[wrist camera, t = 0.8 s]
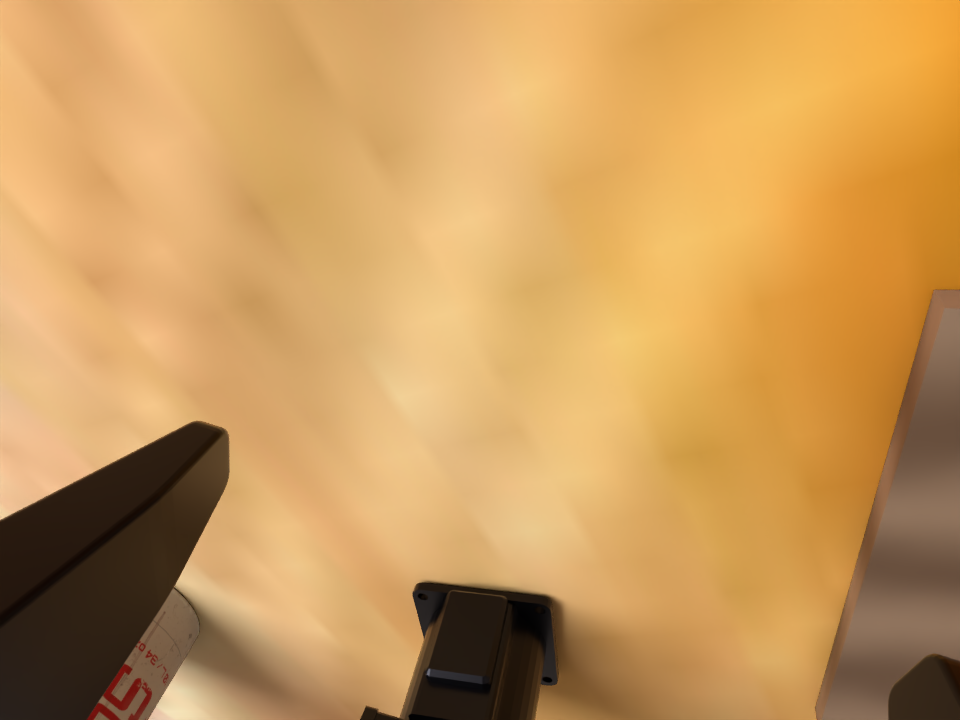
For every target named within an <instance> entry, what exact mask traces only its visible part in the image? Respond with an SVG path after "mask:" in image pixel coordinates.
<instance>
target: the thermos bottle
mask: <svg viewBox="0 0 960 720" xmlns="http://www.w3.org/2000/svg"><path fill="white" fill-rule="evenodd" d="M199 627H200V624H199V621H198V617H197V615H196V613H195V611H194V610H193V608H192V607H191V605H190V604H189V603H188V602H187V600H186V599H185V598H184V597H183V596H182V595H181V594H179V593H178V592H177V591H176V590H175V589H174V588H173V590H172V591H171V593H170V595H169V596H168V598H167V600H166V601H165V603H164V604H163V606H162V608H161V609H160V611H159V612H158V614H157V615H156V617H155V618H154V620H153V621H152V623H151V624H150V626H149V627H148V629H147V630H146V632H145V633H144V635H143V636H142V638H141V639H140V641H139V642H138V644H137V645H136V647H135V648H134V650H133V651H132V653H131V654H130V656H129V657H128V659H127V660H126V662H125V663H124V665H123V666H122V668H121V669H120V671H119V672H118V674H117V675H116V677H115V678H114V680H113V681H112V683H111V684H110V686H109V687H108V689H107V690H106V692H105V693H104V695H103V696H102V698H101V699H100V701H99V702H98V704H97V705H96V707H95V708H94V710H93V711H92V713H91V714H90V716H89V717H88V719H87V720H148V719H149V717H150V715H151V714H152V712H153V710H154V709H155V707H156V705H157V703H158V702H159V700H160V698H161V697H162V695H163V694H164V692H165V690H166V689H167V687H168V686H169V684H170V682H171V681H172V679H173V677H174V676H175V674H176V672H177V671H178V669H179V667H180V666H181V664H182V662H183V660H184V659H185V657H186V655H187V654H188V652H189V650H190V649H191V647H192V645H193V643H194V642H195V640H196V638H197V636H198V634H199Z"/></svg>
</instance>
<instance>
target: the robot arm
mask: <svg viewBox="0 0 960 720" xmlns="http://www.w3.org/2000/svg"><path fill="white" fill-rule="evenodd" d="M228 478H229V434H228V432H227V431H226V429H224V428H222V427H219V426H215V425H212V424H209V423H206V422H202V421H194V422H191V423H189V424H187V425H185V426H183V427H181V428H179V429H177V430H175V431H173V432H171V433H169V434H167V435H165V436H163V437H161V438H159V439H158V440H156V441H154V442H152V443H150V444H148V445H146V446H144V447H142V448H140V449H138V450H136V451H134V452H132V453H130V454H128V455H126V456H124V457H122V458H120V459H119V460H117V461H115V462H113V463H111V464H109V465H107V466H105V467H103V468H101V469H99V470H97V471H95V472H93V473H91V474H89V475H87V476H85V477H83V478H81V479H79V480H78V481H76V482H74V483H72V484H70V485H68V486H66V487H64V488H62V489H60V490H58V491H56V492H54V493H52V494H50V495H48V496H46V497H44V498H42V499H40V500H39V501H37V502H35V503H33V504H31V505H29V506H27V507H25V508H23V509H21V510H19V511H17V512H15V513H13V514H11V515H9V516H7V517H5V518H3V519H1V520H0V720H87V719H88V717H89V716H90V714H91V713H92V711H93V710H94V708H95V707H96V705H97V704H98V702H99V701H100V699H101V698H102V696H103V695H104V693H105V692H106V690H107V689H108V687H109V686H110V684H111V683H112V681H113V680H114V678H115V677H116V675H117V674H118V672H119V671H120V669H121V668H122V666H123V665H124V663H125V662H126V660H127V659H128V657H129V656H130V654H131V653H132V651H133V650H134V648H135V647H136V645H137V644H138V642H139V641H140V639H141V638H142V636H143V635H144V633H145V632H146V630H147V629H148V627H149V626H150V624H151V623H152V621H153V620H154V618H155V617H156V615H157V614H158V612H159V611H160V609H161V608H162V606H163V604H164V603H165V601H166V600H167V598H168V596H169V595H170V593H171V591H172V590H173V588H174V586H175V584H176V582H177V580H178V579H179V577H180V575H181V573H182V571H183V569H184V567H185V565H186V563H187V561H188V559H189V557H190V555H191V554H192V552H193V550H194V548H195V546H196V544H197V542H198V540H199V538H200V536H201V534H202V532H203V530H204V528H205V527H206V525H207V523H208V521H209V519H210V517H211V515H212V513H213V511H214V509H215V507H216V505H217V503H218V501H219V500H220V498H221V496H222V494H223V492H224V490H225V487H226V485H227V482H228ZM413 599H414V602H415V606H416V610H417V614H418V617H419V621H420V625H421V629H422V632H423V636H424V641H423V645H422V648H421V651H420V654H419V657H418V661H417V664H416V667H415V670H414V673H413V677H412V680H411V683H410V686H409V689H408V693H407V696H406V699H405V702H404V705H403V709H402V712H401V715H400V718H397V717H394V716H391V715H387V714H384V713H381V712H378V709H376V708H372V707H369V706H366V708H365V710H364V712H363V715H362V717H361V718H360V720H535V717H536V710H537V704H538V698H539V692H540V685H541V684H542V685H551V686H552V685H555V684H557V681H558V662H557V651H556V640H555V629H554V618H553V607H552V602H551V601H550V600H549V599H547V598H545V597H542V596H535V595H526V594H517V593H509V592H500V591H491V590H482V589H474V588H465V587H456V586H447V585H438V584H430V583H418V584H416V586H415V588H414V591H413ZM888 720H960V661H959V660H955V659H952V658H949V657H946V656H943V655H940V654H930V655H927V656H925V657H924V658H923V659H922V660H920V661H919V662H918V663H917V664H916V665H915V666H914V667H912V668H911V669H910V670H909V671H908V672H907V673H906V674H905V675H903V676H902V677H901V678H900V679H899V680H898V681H897V682H896V683H895V684H894V685H893V687H892V689H891V691H890V694H889V698H888Z"/></svg>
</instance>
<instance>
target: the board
mask: <svg viewBox="0 0 960 720" xmlns="http://www.w3.org/2000/svg"><path fill="white" fill-rule="evenodd" d="M930 654H940V655H943V656H946V657H949V658H952V659H955V660H959V661H960V290H934V292H933V296H932V299H931V303H930V306H929V310H928V313H927V317H926V320H925V324H924V327H923V331H922V334H921V338H920V341H919V345H918V348H917V352H916V355H915V359H914V362H913V366H912V369H911V373H910V376H909V380H908V383H907V387H906V391H905V394H904V398H903V401H902V405H901V408H900V412H899V415H898V419H897V422H896V426H895V429H894V433H893V436H892V440H891V443H890V447H889V450H888V454H887V457H886V461H885V464H884V468H883V471H882V475H881V479H880V482H879V486H878V489H877V493H876V496H875V500H874V503H873V507H872V510H871V514H870V517H869V521H868V524H867V528H866V531H865V535H864V538H863V542H862V545H861V549H860V552H859V556H858V559H857V563H856V566H855V570H854V574H853V577H852V581H851V584H850V588H849V591H848V595H847V598H846V602H845V605H844V609H843V612H842V616H841V619H840V623H839V626H838V630H837V633H836V637H835V640H834V644H833V647H832V651H831V654H830V658H829V661H828V665H827V669H826V672H825V676H824V679H823V683H822V686H821V690H820V693H819V697H818V700H817V704H816V707H815V710H816V717H817V720H888V698H889V694H890V691H891V689H892V687H893V685H894V684H895V683H896V682H897V681H898V680H899V679H900V678H901V677H902V676H903V675H905V674H906V673H907V672H908V671H909V670H910V669H911V668H912V667H914V666H915V665H916V664H917V663H918V662H919V661H920V660H922V659H923V658H924V657H925V656H927V655H930Z"/></svg>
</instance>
